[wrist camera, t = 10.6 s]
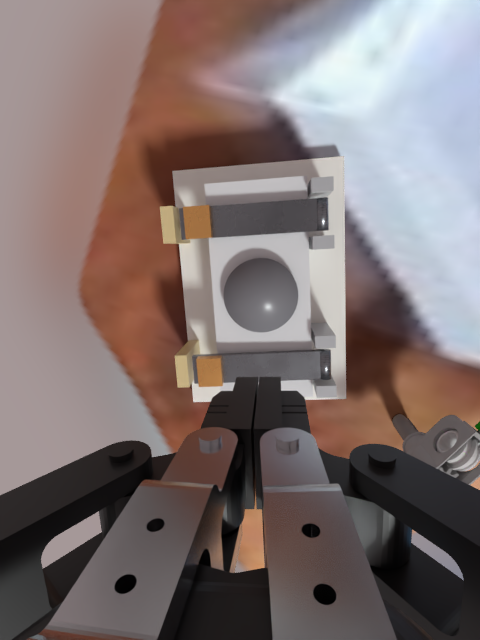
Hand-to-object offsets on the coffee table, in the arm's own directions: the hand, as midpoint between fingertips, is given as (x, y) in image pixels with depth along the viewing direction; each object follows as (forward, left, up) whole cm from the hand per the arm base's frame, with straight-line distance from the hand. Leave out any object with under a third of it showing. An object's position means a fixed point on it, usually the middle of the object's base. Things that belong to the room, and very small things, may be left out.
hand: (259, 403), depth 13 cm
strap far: (+5, -1, -19) cm, 19 cm away
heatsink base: (-1, -1, -24) cm, 24 cm away
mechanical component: (+13, +12, -24) cm, 30 cm away
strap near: (-7, -1, -19) cm, 20 cm away
